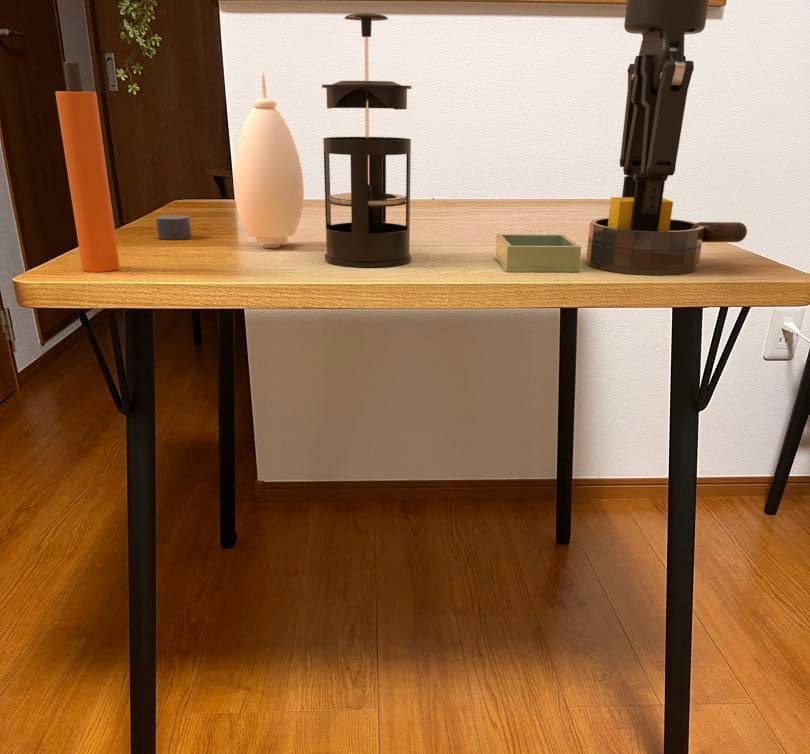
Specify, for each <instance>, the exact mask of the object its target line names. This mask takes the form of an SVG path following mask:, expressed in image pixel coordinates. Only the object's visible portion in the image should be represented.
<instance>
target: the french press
mask: <svg viewBox="0 0 810 754" xmlns="http://www.w3.org/2000/svg"><path fill="white" fill-rule="evenodd" d="M344 20H348V21H349V20H350V21H360V23H361V24H360V25H361V26H360V27H361V38H364V80H340V81H337V82H334V83H332V84H321V89H325V90H326V109H329V110H331V109H364V111H365V112H364V113H365V114H364V120H365V125H364V127H365V129H364V130H365V134H364V135H365V136H331V137H324V138H323V139H322V140H323V174H324V176H323V177H324V207H325V209H324V210H325V241H326V242H325V244H326V247H325V248H326V253H325V254H324V260H325V262H327V263H329V264H332V265H336V266H343V267H349V268H350V267H351V268H354V267H355V268H384V267H385V268H387V267H396V265H397V266H401V265H405V264H408V263H410V262H411V261H412V254H411V253H410V244H411V243H410V241H411V239H410V238H411V237H410V235H411V226H410V225H411V169H412V168H411V167H412V165H411V164H412V163H411V161H412V159H411V158H412V157H411V156H412V154H411V153H412V152H411V151H412V140H411V138H406V137H393V136H392V137H391V136H370V109H389V110H390V109H391V110H408V90H412V85H402V84H399V83H397V82H394V81H391V80H369V78H370V76H369V75H370V73H369V38H371V37H372V22H373V21H374V22H378V21H379V22H380V21H387V20H389V17H388V16H386V15H384V14H380V13H373V12H357V13H350V14H348V15H345V16H344ZM331 154H332V155H342V156H343V155H344V156H350V192H343V193H334V194H331V168H330V155H331ZM403 155H406V169H405V170H406V171H405V172H406V175H405V177H406V178H405V185H406V186H405V195H402V194H398V193H389V192H387V156H403ZM332 205H335V206H341V207H350V209H351V210H350V213H351V222H341V223H340V222H339V223H334V224H332V211H331V209H332V207H331V206H332ZM404 205H405V224H401V223H392V222H387V207H399V206H404Z"/></svg>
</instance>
